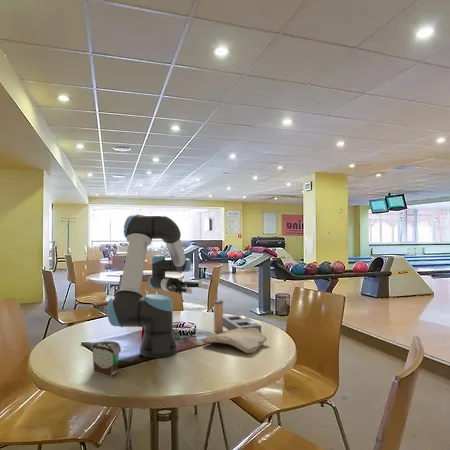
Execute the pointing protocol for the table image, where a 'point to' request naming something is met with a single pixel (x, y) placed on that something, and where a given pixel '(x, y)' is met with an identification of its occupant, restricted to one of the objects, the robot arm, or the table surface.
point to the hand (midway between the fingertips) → (200, 288)
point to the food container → (106, 357)
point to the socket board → (239, 322)
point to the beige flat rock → (240, 339)
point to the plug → (218, 315)
